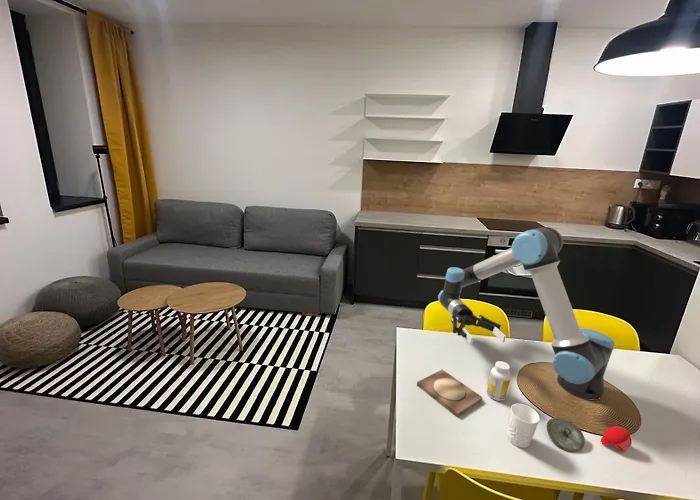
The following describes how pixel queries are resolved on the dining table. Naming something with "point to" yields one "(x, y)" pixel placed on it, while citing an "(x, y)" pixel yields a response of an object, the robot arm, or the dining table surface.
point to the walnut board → (449, 392)
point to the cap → (617, 438)
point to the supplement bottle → (499, 381)
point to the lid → (565, 434)
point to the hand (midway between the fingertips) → (488, 340)
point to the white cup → (521, 425)
